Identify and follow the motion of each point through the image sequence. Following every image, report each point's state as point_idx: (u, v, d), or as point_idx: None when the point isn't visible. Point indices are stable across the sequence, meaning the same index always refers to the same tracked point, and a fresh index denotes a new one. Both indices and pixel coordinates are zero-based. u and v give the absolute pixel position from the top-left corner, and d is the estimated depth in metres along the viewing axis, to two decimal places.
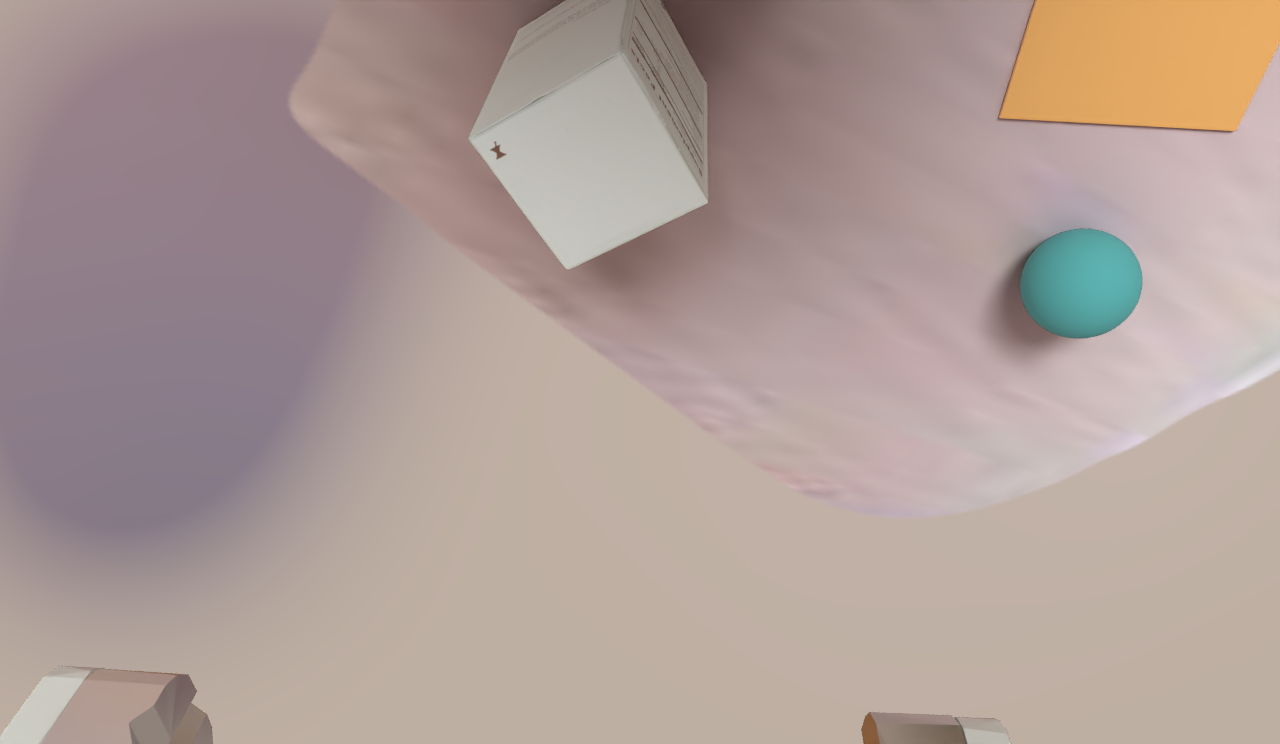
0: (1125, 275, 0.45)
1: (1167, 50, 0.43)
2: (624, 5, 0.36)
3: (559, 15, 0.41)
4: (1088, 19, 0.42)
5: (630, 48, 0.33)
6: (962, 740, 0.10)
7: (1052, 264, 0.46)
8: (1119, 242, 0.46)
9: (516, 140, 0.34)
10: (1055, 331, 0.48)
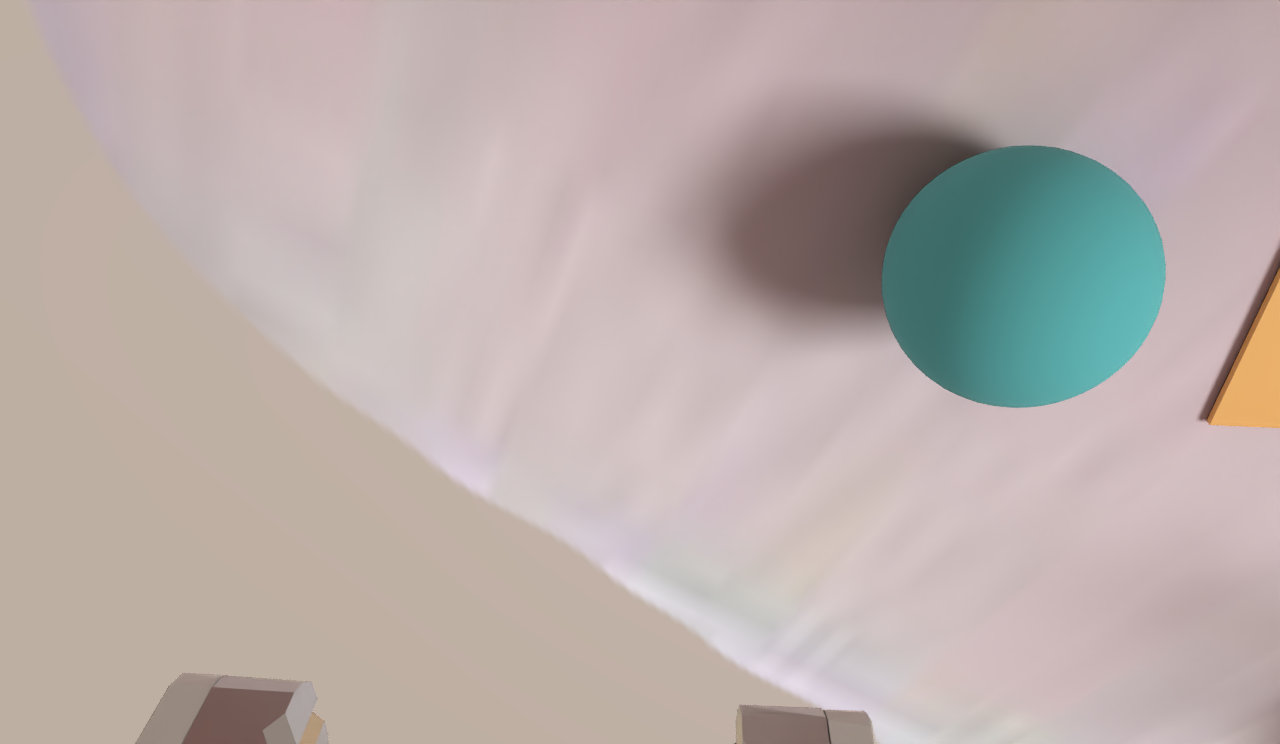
0: None
1: None
2: None
3: None
4: None
5: None
6: (825, 732, 0.10)
7: (1138, 204, 0.18)
8: None
9: None
10: (964, 265, 0.18)
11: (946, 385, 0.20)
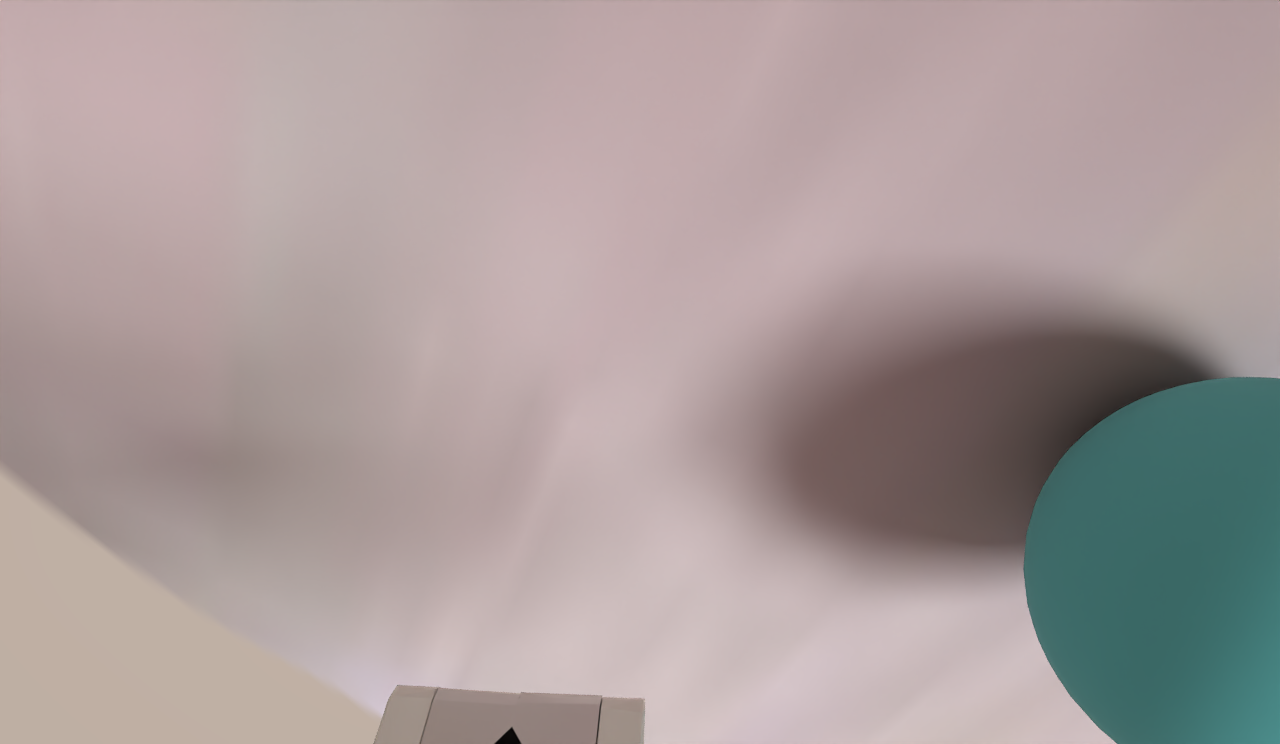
0: None
1: None
2: None
3: None
4: None
5: None
6: (595, 719, 0.10)
7: None
8: None
9: None
10: (1208, 626, 0.10)
11: None
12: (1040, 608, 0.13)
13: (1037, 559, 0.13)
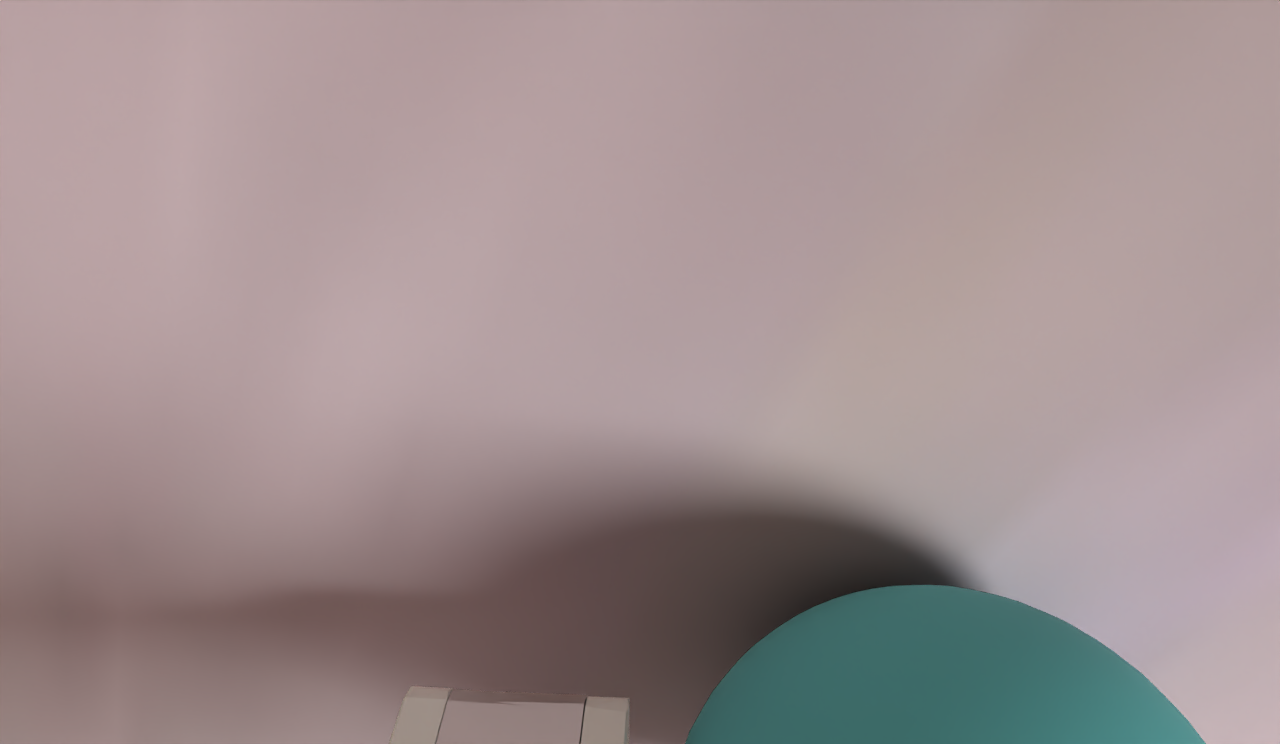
0: None
1: None
2: None
3: None
4: None
5: None
6: (579, 718, 0.10)
7: None
8: None
9: None
10: None
11: None
12: None
13: None
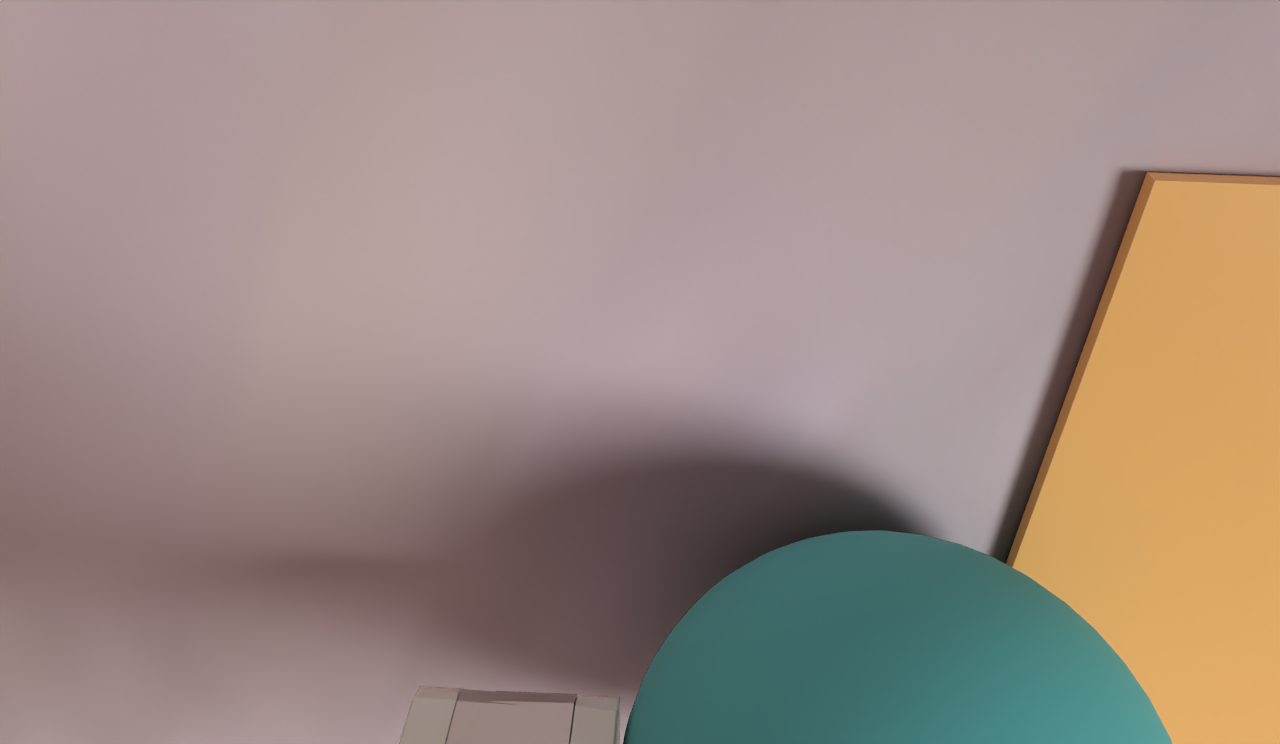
0: None
1: (1253, 659, 0.12)
2: None
3: None
4: None
5: None
6: (569, 717, 0.10)
7: (1091, 639, 0.09)
8: None
9: None
10: None
11: None
12: None
13: None
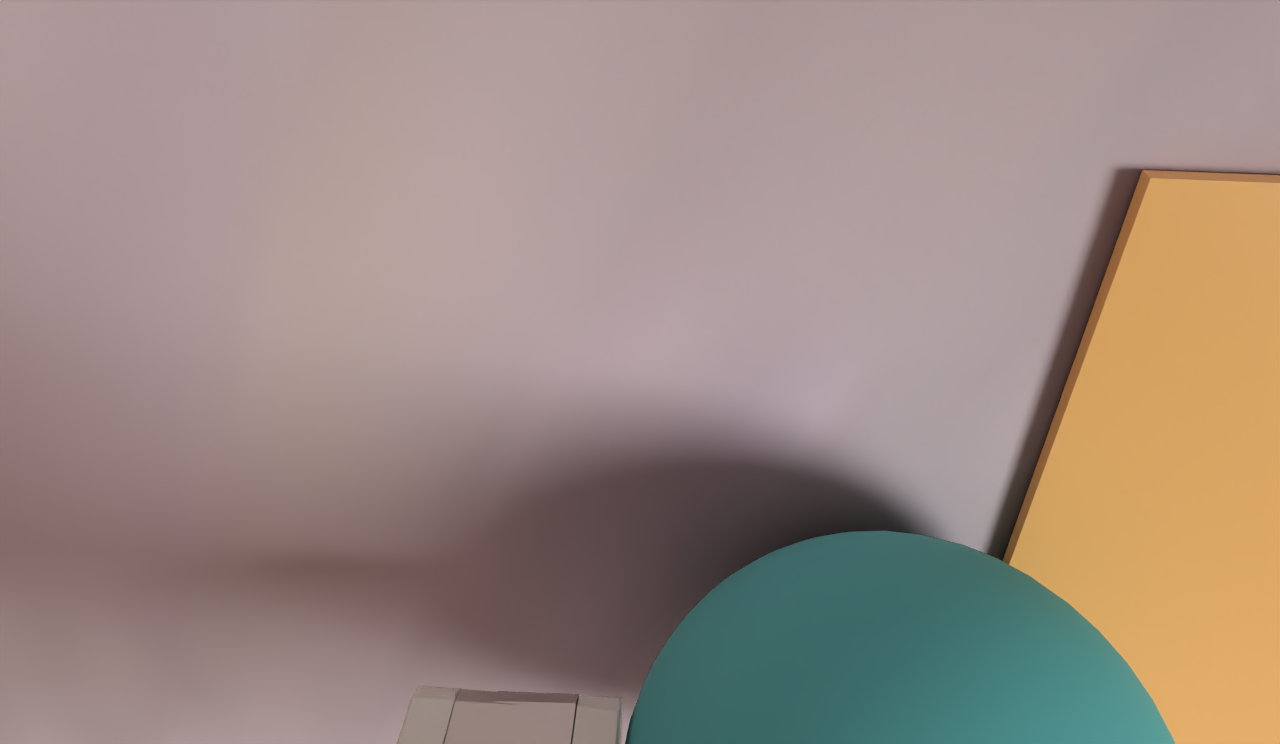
0: None
1: (1249, 658, 0.12)
2: None
3: None
4: None
5: None
6: (571, 718, 0.10)
7: (1094, 640, 0.09)
8: None
9: None
10: None
11: None
12: None
13: None
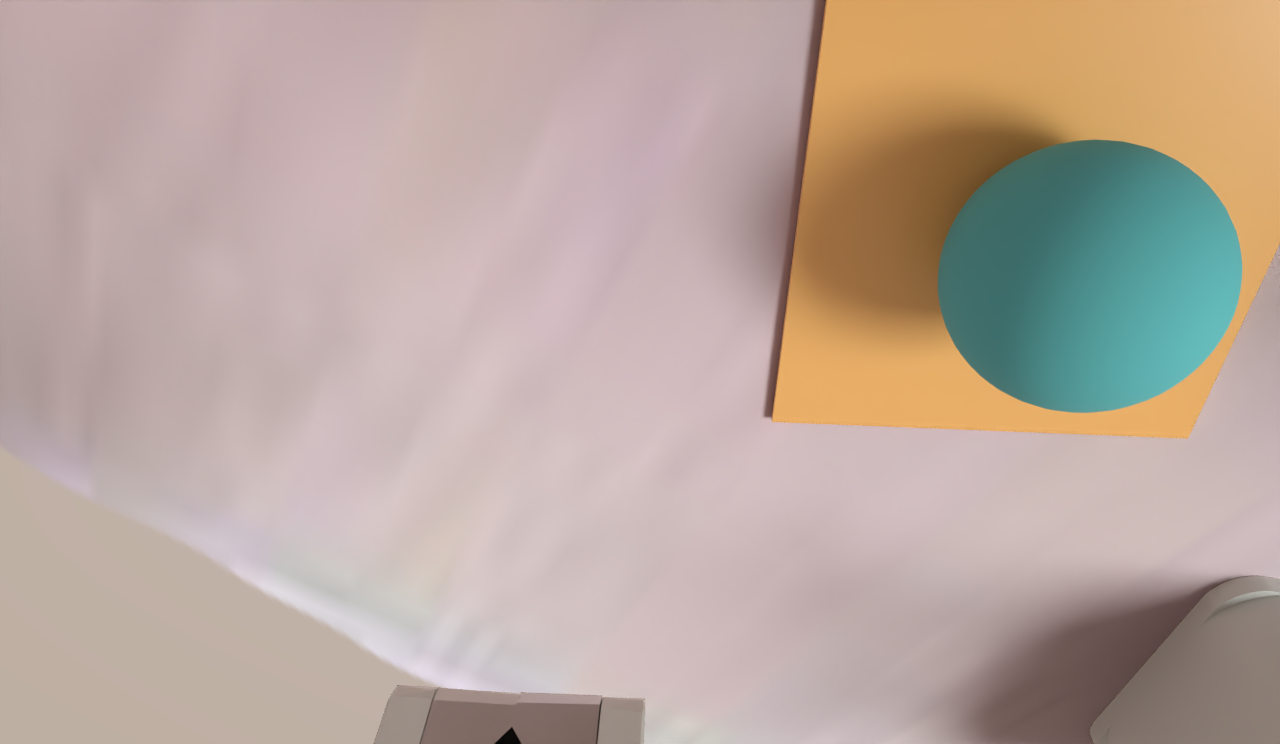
0: None
1: (936, 273, 0.23)
2: None
3: None
4: (1036, 110, 0.20)
5: None
6: (595, 719, 0.10)
7: (998, 176, 0.19)
8: (953, 337, 0.20)
9: None
10: None
11: None
12: None
13: None
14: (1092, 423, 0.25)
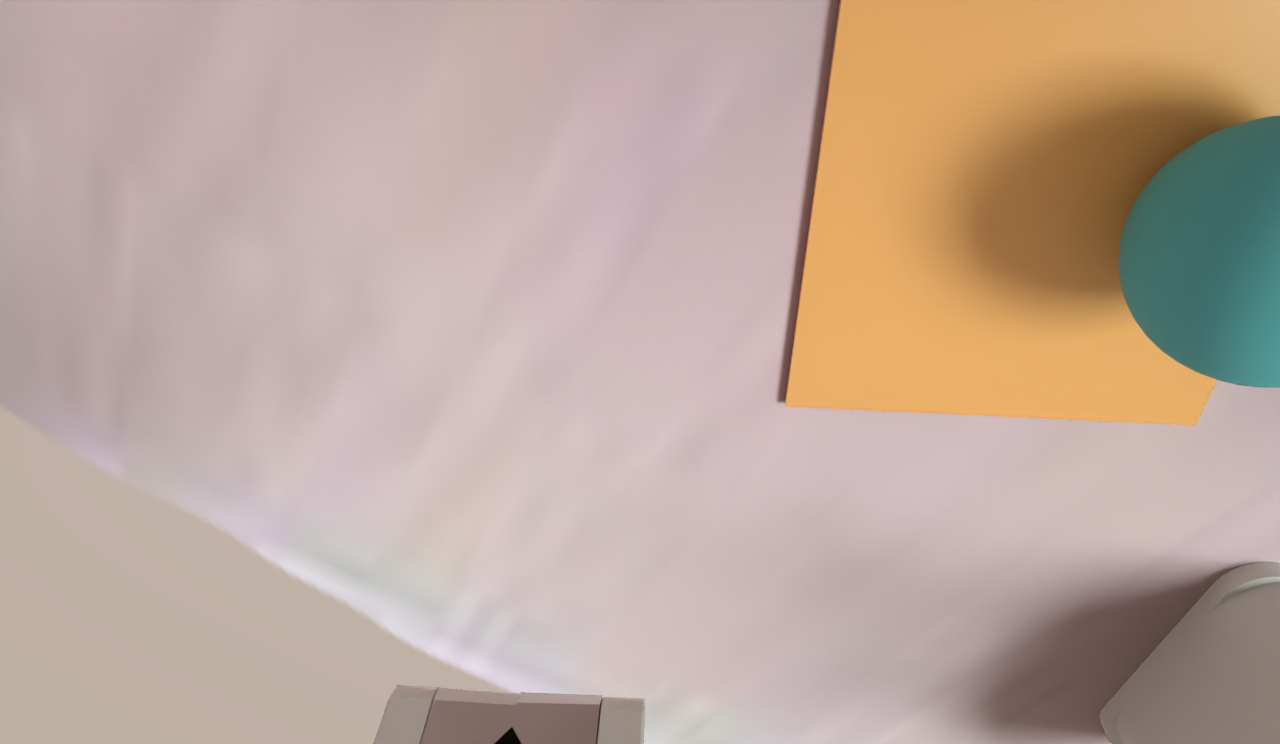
0: (1199, 346, 0.19)
1: (947, 260, 0.23)
2: None
3: None
4: (1047, 99, 0.21)
5: None
6: (595, 719, 0.10)
7: None
8: None
9: None
10: None
11: None
12: None
13: None
14: (1101, 409, 0.26)
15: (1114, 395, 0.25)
